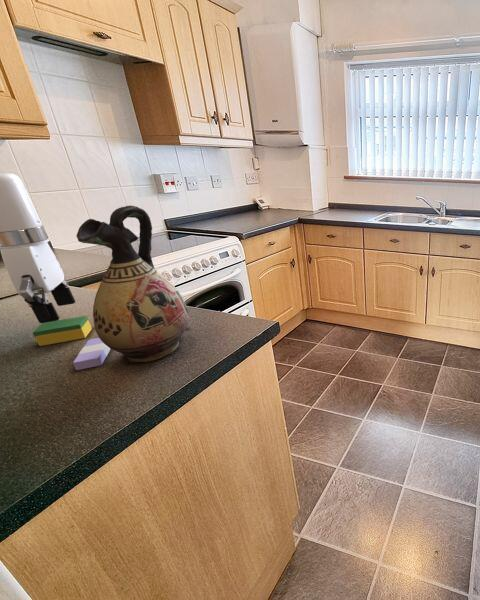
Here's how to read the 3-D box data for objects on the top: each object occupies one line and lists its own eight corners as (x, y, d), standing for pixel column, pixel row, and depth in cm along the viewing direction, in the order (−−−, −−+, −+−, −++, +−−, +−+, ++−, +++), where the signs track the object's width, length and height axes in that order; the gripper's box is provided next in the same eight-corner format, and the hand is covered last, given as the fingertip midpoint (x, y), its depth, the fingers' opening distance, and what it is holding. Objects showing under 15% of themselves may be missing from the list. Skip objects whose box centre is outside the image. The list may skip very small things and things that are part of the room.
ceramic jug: (149, 378, 63) (88, 217, 51) (91, 364, 68) (22, 212, 55) (218, 334, 78) (184, 202, 66) (167, 326, 82) (126, 199, 70)
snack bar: (101, 365, 67) (98, 357, 67) (75, 370, 66) (72, 362, 65) (114, 342, 76) (111, 335, 75) (91, 346, 74) (88, 339, 73)
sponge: (39, 346, 74) (32, 332, 73) (48, 336, 78) (42, 322, 77) (85, 337, 77) (79, 324, 76) (92, 328, 82) (86, 315, 80)
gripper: (17, 231, 74) (53, 301, 81) (-31, 250, 60) (17, 333, 67) (61, 227, 77) (91, 295, 84) (26, 244, 63) (66, 324, 70)
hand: (59, 312), depth 76 cm, fingers open, 9 cm apart
